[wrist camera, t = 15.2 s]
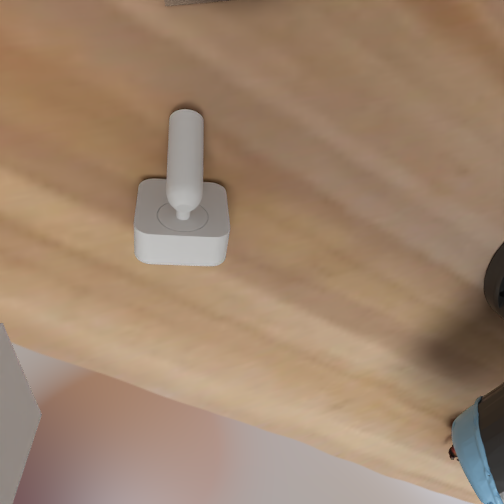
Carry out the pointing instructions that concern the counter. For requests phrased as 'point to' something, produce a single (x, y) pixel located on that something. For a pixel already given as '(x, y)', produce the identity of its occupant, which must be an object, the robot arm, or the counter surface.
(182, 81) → the counter surface
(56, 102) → the counter surface
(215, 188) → the white joystick
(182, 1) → the crossbar stand
